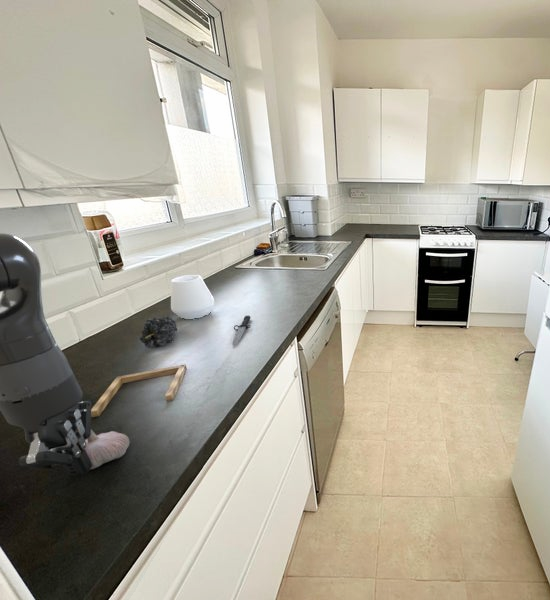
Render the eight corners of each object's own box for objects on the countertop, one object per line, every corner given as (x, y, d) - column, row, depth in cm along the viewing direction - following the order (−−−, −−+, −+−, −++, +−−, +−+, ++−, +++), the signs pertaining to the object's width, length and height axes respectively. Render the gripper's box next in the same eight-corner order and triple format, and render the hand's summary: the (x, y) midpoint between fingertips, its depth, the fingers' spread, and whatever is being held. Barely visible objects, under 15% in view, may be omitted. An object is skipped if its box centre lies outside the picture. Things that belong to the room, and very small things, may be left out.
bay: (173, 400, 69) (171, 394, 69) (92, 417, 65) (89, 411, 64) (187, 368, 81) (185, 364, 80) (119, 381, 76) (116, 376, 76)
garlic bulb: (62, 480, 51) (40, 443, 48) (98, 444, 58) (81, 410, 55) (111, 475, 52) (93, 438, 49) (141, 441, 59) (127, 407, 56)
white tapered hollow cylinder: (225, 311, 116) (216, 275, 111) (188, 325, 105) (177, 286, 100) (202, 305, 122) (193, 271, 117) (166, 318, 111) (154, 281, 106)
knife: (241, 341, 91) (222, 343, 90) (242, 347, 92) (224, 349, 91) (254, 314, 108) (238, 315, 107) (255, 319, 109) (240, 320, 108)
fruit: (158, 304, 99) (135, 322, 86) (188, 308, 102) (171, 327, 89) (155, 328, 101) (133, 350, 88) (185, 332, 104) (168, 354, 91)
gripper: (31, 363, 48) (75, 448, 54) (-47, 420, 36) (21, 521, 43) (92, 353, 50) (128, 436, 57) (37, 403, 39) (90, 501, 45)
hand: (82, 472), depth 49 cm, fingers closed
